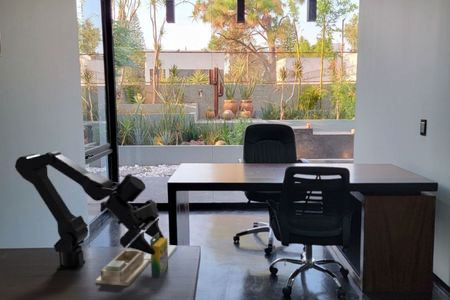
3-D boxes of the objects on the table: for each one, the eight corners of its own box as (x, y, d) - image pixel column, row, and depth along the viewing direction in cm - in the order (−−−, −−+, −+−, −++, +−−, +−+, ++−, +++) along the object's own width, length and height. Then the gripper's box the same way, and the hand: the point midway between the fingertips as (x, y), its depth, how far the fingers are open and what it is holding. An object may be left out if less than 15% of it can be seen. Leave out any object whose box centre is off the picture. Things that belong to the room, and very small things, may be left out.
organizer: (96, 283, 119) (95, 266, 118) (120, 260, 134) (119, 246, 134) (128, 285, 117) (127, 269, 116) (149, 262, 132) (148, 248, 132)
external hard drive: (176, 249, 144) (165, 264, 132) (154, 248, 146) (141, 262, 134) (176, 245, 144) (164, 259, 132) (154, 244, 146) (141, 258, 134)
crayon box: (160, 277, 122) (159, 240, 120) (151, 277, 122) (149, 240, 121) (168, 267, 129) (167, 232, 127) (159, 266, 129) (158, 231, 128)
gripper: (127, 202, 114) (166, 242, 113) (151, 186, 132) (185, 221, 132) (103, 228, 117) (141, 267, 116) (130, 209, 135) (163, 243, 134)
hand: (159, 248), depth 124 cm, fingers open, 9 cm apart
